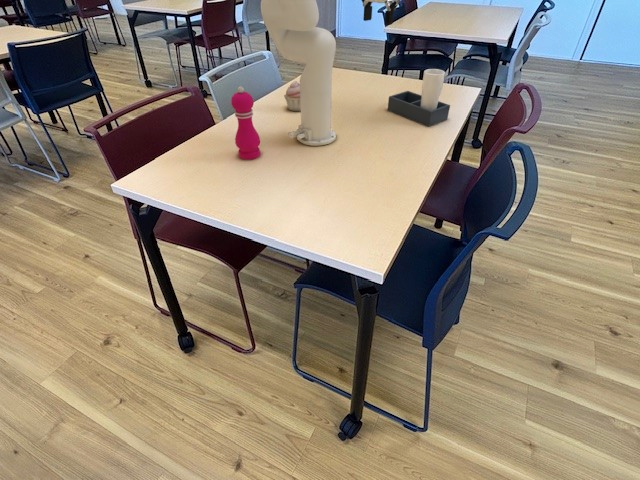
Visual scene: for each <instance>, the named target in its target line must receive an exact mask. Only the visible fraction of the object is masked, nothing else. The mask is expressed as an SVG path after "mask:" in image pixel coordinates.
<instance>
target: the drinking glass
mask: <svg viewBox="0 0 640 480" xmlns="http://www.w3.org/2000/svg"><path fill="white" fill-rule="evenodd" d="M445 76H446V72H445V70H443V69H440V68H428V69H425V70H424V73H423V77H422V82H421V83H422V84H421V94H420V95H421V107H422V108H424V109H427V110H430V111H432V110H435V109H437V105H438V102H440V98H441V94H442V91H443V87H444V83H445V78H446V77H445Z"/></svg>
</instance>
